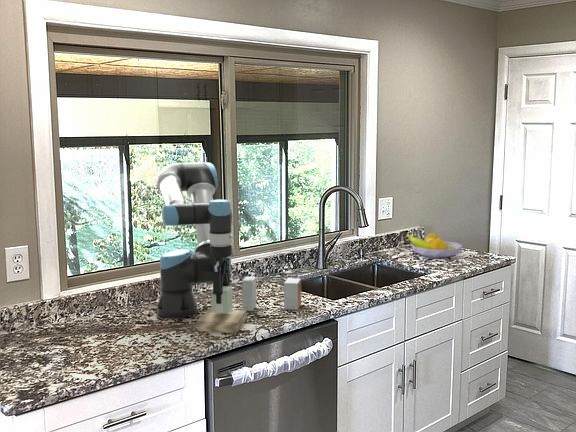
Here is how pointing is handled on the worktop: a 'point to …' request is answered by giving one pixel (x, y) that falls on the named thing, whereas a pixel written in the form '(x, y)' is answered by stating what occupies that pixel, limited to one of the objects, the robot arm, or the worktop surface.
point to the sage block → (224, 299)
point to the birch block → (222, 321)
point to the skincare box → (249, 293)
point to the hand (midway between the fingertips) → (222, 309)
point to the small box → (292, 294)
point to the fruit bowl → (434, 246)
